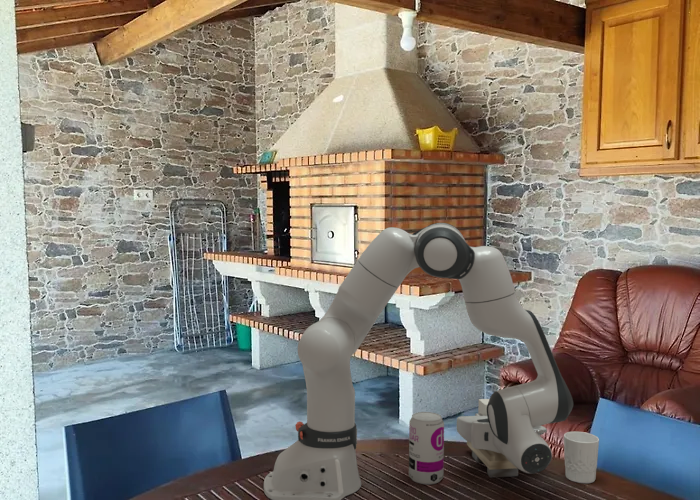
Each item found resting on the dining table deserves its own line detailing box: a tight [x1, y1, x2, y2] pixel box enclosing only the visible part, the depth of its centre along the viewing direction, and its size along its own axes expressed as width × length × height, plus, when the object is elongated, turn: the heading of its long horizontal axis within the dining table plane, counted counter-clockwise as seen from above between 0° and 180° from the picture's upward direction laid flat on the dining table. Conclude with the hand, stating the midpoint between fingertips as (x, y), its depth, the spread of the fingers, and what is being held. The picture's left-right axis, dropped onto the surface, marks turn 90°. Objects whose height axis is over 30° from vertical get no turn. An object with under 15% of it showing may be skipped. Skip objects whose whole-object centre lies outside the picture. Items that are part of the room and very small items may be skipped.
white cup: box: [563, 431, 600, 484], centre depth 150 cm, size 8×8×10 cm
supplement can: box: [408, 411, 445, 485], centre depth 148 cm, size 8×8×15 cm
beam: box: [466, 441, 519, 478], centre depth 158 cm, size 8×17×6 cm, turn 8°
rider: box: [477, 398, 490, 416], centre depth 160 cm, size 4×5×10 cm
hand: (487, 416), depth 161 cm, fingers closed on rider, 4 cm apart
